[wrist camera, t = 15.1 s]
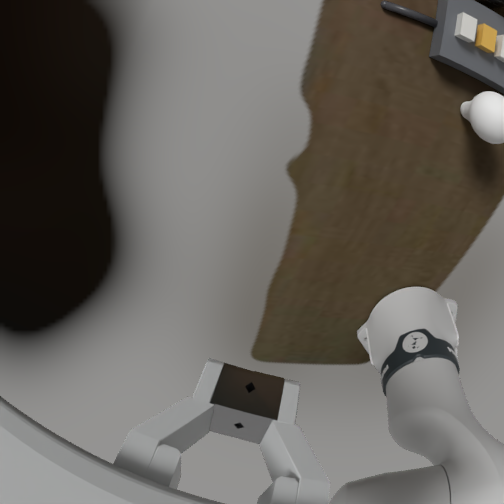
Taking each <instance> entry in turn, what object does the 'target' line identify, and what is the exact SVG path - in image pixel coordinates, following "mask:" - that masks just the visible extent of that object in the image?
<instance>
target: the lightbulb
mask: <svg viewBox="0 0 504 504" xmlns="http://www.w3.org/2000/svg"><path fill="white" fill-rule="evenodd" d="M460 111H461V114H462V116H463V117H464V118H465V119H467V120H468V121H469V122H470V123H471V125H472V128H473V129H474V131H475V132H476V133H477V135H478V136H479V137H480V138H482V139H483V140H485V141H487V142H489V143H492V144H500V143H504V96H502V95H500V94H499V93H496V92H492V91H485V92H482V93H480V94H478V95H477V96H475V97H474V99H473V100H472V101H466V102H464V103H462V105H461V108H460Z"/></svg>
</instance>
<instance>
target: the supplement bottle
mask: <svg viewBox="0 0 504 504" xmlns="http://www.w3.org/2000/svg"><path fill="white" fill-rule="evenodd" d="M479 1H480V2H481V3H483V4H484V5H486V6H488V7H491V8H502V7H504V0H479Z"/></svg>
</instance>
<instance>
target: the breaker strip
mask: <svg viewBox="0 0 504 504" xmlns="http://www.w3.org/2000/svg"><path fill="white" fill-rule="evenodd" d="M381 6H382V8H384V9H387V10H390V11H393V12H396V13H399V14H401V15H404V16H407V17H410V18H412V19H415V20H417V21H420V22H422V23H425V24H427V25H430V26H432V27H434V32H433V38H432V44H431V49H430V54H429V57H431V58H433V59H435V60H438V61H440V62H442V63H445V64H447V65H449V66H451V67H453V68H456V69H458V70H460V71H462V72H464V73H466V74H468V75H470V76H472V77H474V78H476V79H478V80H480V81H481V82H483V83H485V84H487V85H489V86H491V87H492V88H494V89H496V90H498V91H499V92H501V93H503V94H504V17H502V16H500V15H499V14H497V13H495V12H494V11H492V10H490V9H489V8H487V7H485V6H483V5H482V4H480V3H478V2H476V1H474V0H438V6H437V13H436V19H433V18H431V17H428V16H426V15H424V14H421V13H419V12H416V11H413V10H411V9H408V8H405V7H403V6H400V5H397V4H394V3H391V2H388V1H382V2H381Z"/></svg>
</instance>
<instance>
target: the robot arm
mask: <svg viewBox="0 0 504 504" xmlns="http://www.w3.org/2000/svg"><path fill="white" fill-rule="evenodd" d="M457 311H458V306H457V302H456V301H454V300H451V299H446V298H443V297H441V296H440V295H439V294H438V293H436V292H435V291H433V290H431V289H428V288H425V287H408V288H403V289H400V290H397V291H395V292H393V293H391V294H389V295H388V296H386V297H385V298H383V299H382V300H381V301H380V302H379V303H378V304H377V305H376V306H375V308H374V309H373V311H372V312H371V314H370V317H369V319H368V321H367V322H366V323H365V324H364V325H363V326H361V327H360V328H359V330H358V331H357V336H358V339H359V340H360V342H361V343H362V345H363V346H364V348H365V349H366V351H367V352H368V353H369V355H370V361H371V364H372V365H374V367H375V368H376V370H377V371H378V372H379V373H380V374H381V384H382V388H383V392H384V394H385V396H386V398H387V410H388V424H389V432H390V434H391V436H392V438H393V439H394V440H395V442H396V443H397V444H398V445H399V446H401V447H402V448H404V449H406V450H408V451H411V452H414V453H418V454H420V455H422V456H424V457H426V458H427V459H429V460H430V461H431V462H432V464H433V465H434V466H430V467H424V468H419V469H412V470H406V471H398V472H390V473H383V474H379V475H375V476H371V477H367V478H364V479H360V480H356V481H352V482H348V483H346V484H345V485H343V486H342V487H341V488H340V489H339V490H338V491H337V493H336V494H335V495H334V496H333V498H332V499H331V501H330V503H329V504H504V444H503V443H501V442H500V441H498V440H496V439H495V438H494V437H493V436H492V435H490V434H489V433H488V432H487V431H486V430H485V429H484V428H483V427H482V426H481V424H480V423H479V422H478V421H477V419H476V418H475V416H474V415H473V413H472V411H471V409H470V407H469V404H468V402H467V399H466V396H465V393H464V390H463V387H462V384H461V381H460V378H459V365H458V358H457V346H458V345H459V341H458V339H459V335H458V332H457V329H456V326H455V323H456V317H457ZM299 392H300V383H299V382H297V381H293V380H288V379H284V378H281V377H276V376H273V375H268V374H264V373H260V372H256V371H250V370H247V369H243V368H240V367H237V366H234V365H230V364H227V363H224V362H221V361H217V360H214V359H211V358H209V359H208V361H207V363H206V365H205V367H204V370H203V372H202V375H201V377H200V380H199V382H198V385H197V387H196V389H195V392H194V395H193V397H189V396H187V397H186V398H184V399H182V400H181V401H179V402H178V403H176V404H174V405H173V406H171V407H169V408H168V409H166V410H164V411H162V412H161V413H159V414H157V415H155V416H154V417H152V418H150V419H148V420H147V421H145V422H143V423H142V424H140V425H138V426H136V427H134V428H133V429H131V430H130V432H129V434H128V436H127V438H126V440H125V441H124V444H123V445H122V447H121V449H120V451H119V453H118V455H117V457H116V459H115V461H114V463H113V464H112V463H109V462H107V461H105V460H103V459H101V458H99V457H97V456H95V455H93V454H91V453H89V452H87V451H85V450H84V449H82V448H80V447H78V446H76V445H74V444H72V443H71V442H69V441H67V440H65V439H64V438H62V437H60V436H59V435H57V434H55V433H53V432H52V431H50V430H49V429H47V428H45V427H44V426H42V425H41V424H39V423H38V422H36V421H34V420H33V419H32V418H30V417H28V416H27V415H26V414H24V413H23V412H21V411H20V410H18V409H17V408H16V407H14V406H13V405H11V404H10V403H9V402H7V401H6V400H5V399H3V398H2V397H1V396H0V504H224V503H220V502H217V501H213V500H209V499H206V498H202V497H199V496H195V495H192V494H189V493H186V492H183V491H180V490H177V486H178V484H179V481H180V477H181V453H183V452H184V451H185V450H187V449H188V448H189V447H191V446H192V445H193V444H195V443H196V442H197V441H198V440H200V439H201V438H202V437H204V436H205V435H206V434H208V433H209V431H212V432H216V433H219V434H223V435H227V436H231V437H235V438H239V439H242V440H246V441H249V442H253V443H257V444H260V445H259V446H260V449H261V451H262V454H263V457H264V460H265V463H266V465H267V468H268V470H269V473H270V476H271V478H272V481H273V483H272V484H271V485H270V486H269V488H268V489H267V490H266V491H265V492H264V493H263V494H262V495H261V496H260V497H259V498H258V502H257V504H328V499H329V490H330V481H329V480H328V478H327V476H326V474H325V472H324V470H323V468H322V467H321V465H320V463H319V461H318V459H317V457H316V456H315V454H314V452H313V450H312V449H311V446H310V445H309V443H308V441H307V439H306V437H305V435H304V433H303V431H302V429H301V428H300V426H298V425H295V422H296V415H297V407H298V400H299Z"/></svg>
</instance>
